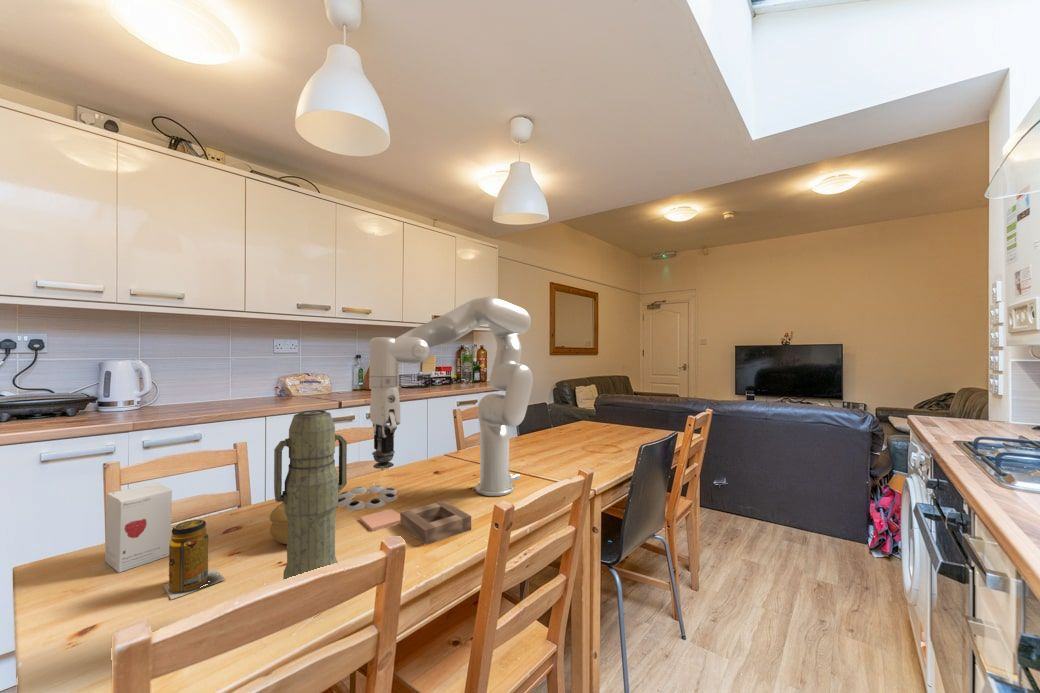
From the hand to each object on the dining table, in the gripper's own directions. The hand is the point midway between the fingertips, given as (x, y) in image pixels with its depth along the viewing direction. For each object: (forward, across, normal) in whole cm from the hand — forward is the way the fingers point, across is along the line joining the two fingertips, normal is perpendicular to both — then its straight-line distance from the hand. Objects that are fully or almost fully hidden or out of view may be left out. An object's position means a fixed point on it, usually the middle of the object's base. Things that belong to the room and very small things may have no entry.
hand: (383, 449), depth 111 cm
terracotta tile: (+19, 0, 0) cm, 19 cm away
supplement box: (+20, +16, +49) cm, 55 cm away
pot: (+20, +3, +20) cm, 28 cm away
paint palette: (+20, +20, -3) cm, 29 cm away
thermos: (+20, -26, +24) cm, 41 cm away
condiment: (+20, -4, +40) cm, 45 cm away
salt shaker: (+5, 0, 0) cm, 5 cm away
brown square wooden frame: (+19, -13, -9) cm, 25 cm away
